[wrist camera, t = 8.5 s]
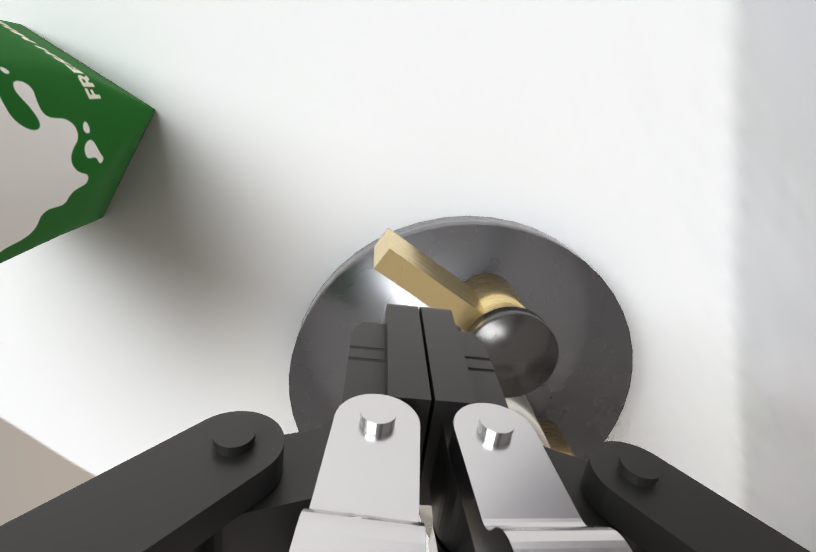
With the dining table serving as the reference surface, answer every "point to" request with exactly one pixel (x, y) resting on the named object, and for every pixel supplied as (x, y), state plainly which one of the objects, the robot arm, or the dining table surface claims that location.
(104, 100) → the milk carton
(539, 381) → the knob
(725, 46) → the dining table surface
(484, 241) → the base
